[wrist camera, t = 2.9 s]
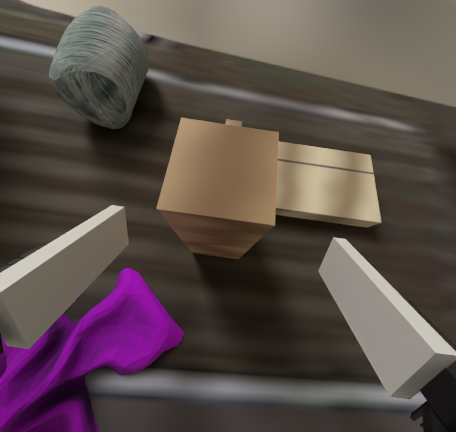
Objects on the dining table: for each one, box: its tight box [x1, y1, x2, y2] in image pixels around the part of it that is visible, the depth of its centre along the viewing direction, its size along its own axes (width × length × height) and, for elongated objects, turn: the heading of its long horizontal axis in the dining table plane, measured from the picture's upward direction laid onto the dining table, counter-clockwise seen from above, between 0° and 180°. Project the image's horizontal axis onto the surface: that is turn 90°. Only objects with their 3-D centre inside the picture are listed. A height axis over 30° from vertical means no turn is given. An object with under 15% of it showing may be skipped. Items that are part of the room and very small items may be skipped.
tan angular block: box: [156, 118, 279, 259], centre depth 16 cm, size 5×13×13 cm, turn 173°
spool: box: [49, 6, 149, 129], centre depth 23 cm, size 14×10×10 cm
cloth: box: [0, 268, 184, 432], centre depth 14 cm, size 22×19×6 cm
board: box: [275, 141, 381, 228], centre depth 23 cm, size 22×9×2 cm, turn 83°
